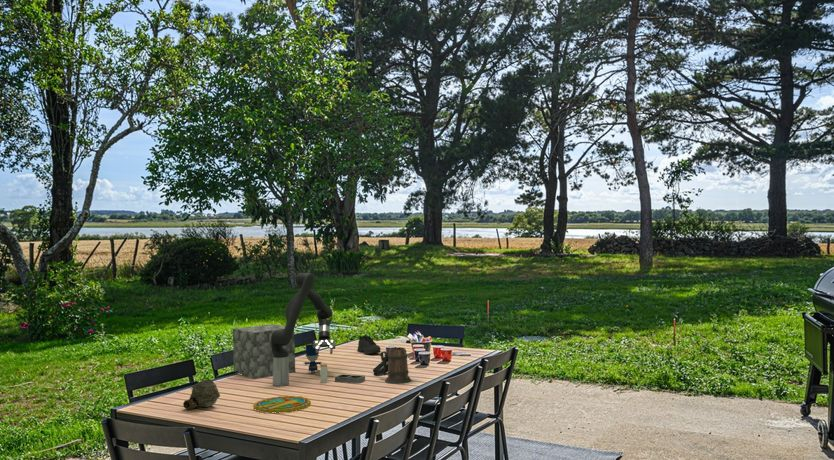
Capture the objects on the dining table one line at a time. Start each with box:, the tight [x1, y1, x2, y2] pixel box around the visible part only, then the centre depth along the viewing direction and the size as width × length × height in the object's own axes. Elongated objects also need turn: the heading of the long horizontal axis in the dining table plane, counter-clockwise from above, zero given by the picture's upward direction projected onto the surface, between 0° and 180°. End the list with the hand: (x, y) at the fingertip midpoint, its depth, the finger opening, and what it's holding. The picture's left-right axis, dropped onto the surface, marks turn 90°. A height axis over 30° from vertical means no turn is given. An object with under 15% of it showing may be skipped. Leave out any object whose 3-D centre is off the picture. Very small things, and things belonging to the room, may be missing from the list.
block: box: [232, 323, 296, 380], centre depth 445 cm, size 30×30×30 cm
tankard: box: [377, 346, 413, 385], centre depth 409 cm, size 24×17×20 cm
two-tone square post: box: [319, 362, 328, 384], centre depth 409 cm, size 4×4×11 cm
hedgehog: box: [182, 378, 221, 410], centre depth 353 cm, size 18×14×15 cm
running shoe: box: [356, 334, 382, 355], centre depth 510 cm, size 11×30×14 cm, turn 35°
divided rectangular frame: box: [334, 373, 366, 384], centre depth 410 cm, size 8×17×3 cm, turn 66°
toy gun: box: [372, 352, 389, 376], centre depth 431 cm, size 22×5×15 cm
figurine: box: [303, 343, 323, 374], centre depth 438 cm, size 13×9×20 cm
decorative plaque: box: [252, 395, 311, 414], centre depth 352 cm, size 30×3×30 cm
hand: (324, 354), depth 421 cm, fingers open, 8 cm apart
